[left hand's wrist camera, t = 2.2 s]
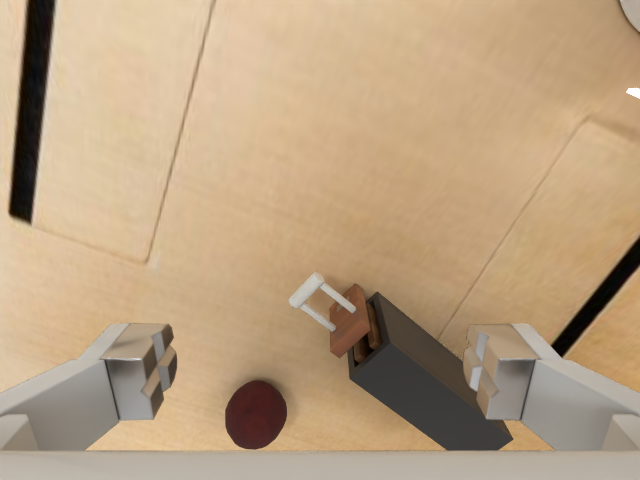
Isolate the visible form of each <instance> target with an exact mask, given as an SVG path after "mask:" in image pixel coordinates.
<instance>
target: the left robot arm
mask: <svg viewBox="0 0 640 480" xmlns="http://www.w3.org/2000/svg"><path fill="white" fill-rule="evenodd" d="M620 3H621V6H622V8H623V11H624V13H625V15H626V16H627V18H628V20H629V21H630V22H631V24H632V25H633V26H634V27H635V28H636V29H637V30H638V31H639V32H640V0H620ZM627 93H629V94H632V95H634V96H636V97H638V98H640V89H637V88H633V89H628V91H627ZM173 338H174V336H173V331H172V327H171V326H170V325H169V324H146V323H114V324H110V325H109V326H108V327H107V328H106V329H105V330H104V331H103V332H102V334H101V335H100V336H99V337H98V338H97V339H96V340H95V341H94V342H93V343H92V344H91V345H90V346H89V347H88V348H87V349H86V351H85V352H84V353H83V354H82V355H81V356H80V357H79V358H78V359H77V360H69V361H67V362H65V363H63V364H61V365H58V366H56V367H54V368H52V369H50V370H48V371H46V372H44V373H41V374H39V375H37V376H35V377H33V378H31V379H29V380H27V381H25V382H22V383H20V384H18V385H16V386H14V387H12V388H10V389H8V390H5V391H3V392H1V393H0V480H640V393H639V392H636V391H634V390H632V389H630V388H628V387H626V386H624V385H622V384H620V383H617V382H615V381H613V380H611V379H609V378H607V377H605V376H603V375H601V374H598V373H596V372H594V371H592V370H590V369H588V368H586V367H584V366H582V365H579V364H577V363H575V362H573V361H571V360H563V359H562V358H561V357H560V356H559V355H558V354H557V353H556V352H555V351H554V349H553V348H552V347H551V346H550V345H549V344H548V343H547V342H546V341H545V340H544V339H543V338H542V337H541V336H540V335H539V334H538V332H537V331H536V330H535V329H534V328H533V327H532V326H531V325H529V324H527V323H508V324H474V325H470V326H469V328H468V330H467V336H466V338H467V340H468V342H469V343H470V346H469V347H468V348H467V349H466V350H465V351H464V356H463V370H464V375H465V378H466V381H467V383H468V385H469V387H470V388H472V389H473V390H475V391H476V392H477V396H476V401H477V402H478V404H479V406H480V408H481V410H482V412H483V414H484V416H485V418H486V419H487V420H521V423H523V424H524V425H525V426H526V427H527V428H529V429H530V430H531V431H532V432H534V433H535V434H536V435H537V436H539V437H540V438H541V439H542V440H543V441H545V442H546V443H547V444H548V445H550V446H551V447H552V448H553V449H555V450H556V451H84V450H86V449H87V448H88V447H89V446H90V445H92V444H93V443H94V442H95V441H97V440H98V439H99V438H100V437H102V436H103V435H104V434H105V433H107V432H108V431H109V430H110V429H111V428H113V427H114V426H115V425H116V424H118V423H119V420H154V418H155V416H156V414H157V412H158V410H159V408H160V406H161V404H162V402H163V401H164V396H163V392H164V391H165V390H167V389H168V388H170V387H171V385H172V383H173V381H174V379H175V375H176V370H177V355H176V351H175V350H174V349H173V348H172V347H171V346H170V343H171V342H172V340H173Z"/></svg>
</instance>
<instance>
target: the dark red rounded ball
mask: <svg viewBox="0 0 640 480" xmlns="http://www.w3.org/2000/svg"><path fill="white" fill-rule="evenodd" d="M286 417H287V407H286V402H285V400H284V399H283V397H282V395H281V394H280V393H279V391H278V390H277V389H275V388H274V387H273V386H272V385H271V384H268V383H266V382H263V381H252V382H248V383H246V384H245V385H243V386H242V387H241V388H239V389H238V390H237V391H236V392H235V393H234V395H233V396H232V398H231V399H230V401H229V403H228V405H227V408H226V410H225V424H226V429H227V433H228V434H229V435H230V437H231V438H232V440H233V441H234V443H235V444H236V445H238V446H239V447H242V448H245V449H259V448H263V447H265V446H267V445H269V444H270V443H271V442H272V441H273V440H275V439H276V437H277V436H278V434H279V433H280V431H281V430H282V428H283V426H284V424H285V421H286Z"/></svg>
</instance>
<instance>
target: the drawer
mask: <svg viewBox="0 0 640 480" xmlns="http://www.w3.org/2000/svg"><path fill="white" fill-rule="evenodd" d="M319 287H320V289H322V290H323V291H324V292H326V293H327V294H328V295H329V296H331V297H332V298H333V299H334V300H336V301H337V302H336V303H335V304H334V305H333V306H332V307H331V308H330V321H329V320H328V319H326V318H325V317H324V316H322V315H321V314H320V313H318V312H317V311H316V310H315V309H313V308H312V307H311V306H309V305H308V304H307V303H305V301H306V300H307V299H308V298H309V297H310V296H311V295H312V294H313V293H314V292H315V291H316V290H317V289H318V288H319ZM288 302H289V303H290V305H291V306H292V307H294V308H296V309H298V308H299V307H300V308H301V309H302V310H304V311H305V312H306V313H308V314H309V315H310V316H311V317H313V318H314V319H315V320H317V321H318V322H319V323H321V324H322V325H323V326H325V327H326V328H327V329H329V330H330V351H331V352H332V353H333V354H334V355H336V356H337V357H338V358H340V357H341V356H342V355H343V354H345V353H346V352H347V351H348V350H349V349H350V348H351V347H352V346H354V356H355V360H356V361H357V362H359V363H361V362H362V361H363V360H364V359H365V358H367V357H368V356H369V355H370V354H371V353H372V352H373V351H374V350H376V349H377V348H378V347H379V346H380V345H381V344H382V343H383V340H382V335H381V331H380V327H379V322H378V318H377V314H376V309H375V308H374V307H373V306H371V305H370V304H369V303H368V302H367V303H365V298H364V293H363V289H362V288H360V287H359V286H358V285H357V284H354V285H353V286H352V287H351V288H350V289H349V290H348V291H347V292H346V293H345V294H344V295H343V296H341V295H340V294H339V293H338V292H336V291H335V290H334V289H332V288H331V287H330V286H329V285H327V284H326V283H325V282H324V278H323V277H322V276H321V275H320V274H319V273H317V272H314V273H313V274H312V275H311V276H310V277H309V278H308V279H307V280H306V281H305V282H304V283H303V284H302V285H301V286H300V287H299V288H298V289H297V290H296V291H295V292H294V293H293V295H292V296H291V297H290V298H289V299H288Z"/></svg>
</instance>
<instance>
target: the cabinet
mask: <svg viewBox="0 0 640 480" xmlns="http://www.w3.org/2000/svg"><path fill="white" fill-rule="evenodd" d="M367 302H368V303H369V304H370V305H371V306H373V307H374V308H375V309H376V314H377V318H378V322H379V327H380V331H381V335H382V340H383V343H382V344H381V345H380V346H379V347H378V348H377V349H376V350H374V351H373V352H372V353H371V354H370V355H369V356H368V357H367V358H365V359H364V360H363V361H362V362H361V363H359V362H357V361H356V360H355V356H354V346H352V347H351V348H350V349H349V350H348V351H347V352H348V364H349V378H350V379H351V380H352V381H353V382H355V383H356V384H357V385H359V386H360V387H362V388H363V389H364V390H366V391H367V392H368V393H370V394H371V395H372V396H374V397H375V398H377V399H378V400H379V401H381V402H382V403H383V404H385V405H386V406H388V407H389V408H390V409H392V410H393V411H394V412H396V413H397V414H398V415H400V416H401V417H403V418H404V419H405V420H407V421H408V422H409V423H411V424H412V425H413V426H415V427H416V428H418V429H419V430H420V431H422V432H423V433H424V434H426V435H427V436H429V437H430V438H431V439H433V440H434V441H435V442H437V443H438V444H439V445H441V446H442V447H444V448H445V449H446V450H448V451H497V450H499V449H500V448H502V447H503V446H505V445H506V444H508V443H509V442H510V441H512V440H513V438H512V436H511V434H510V432H509V430H508V428H507V427H506V425H505V423H504V421H503V420H487V419H486V418H485V416H484V414H483V412H482V410H481V408H480V406H479V404H478V402H477V401H476V396H477V392H476V391H475V390H473V389H472V388H470V387H469V385H468V383H467V381H466V378H465V375H464V370H463V362H462V361H461V360H460V359H459V358H458V357H456V356H455V355H454V354H453V353H451V352H450V351H449V350H448V349H447V348H445V347H444V346H443V345H442V344H441V343H439V342H438V341H437V340H436V339H434V338H433V337H432V336H431V335H430V334H428V333H427V332H426V331H425V330H423V329H422V328H421V327H420V326H419V325H417V324H416V323H415V322H414V321H412V320H411V319H410V318H409V317H408V316H406V315H405V314H404V313H403V312H401V311H400V310H399V309H398V308H397V307H395V306H394V305H393V304H392V303H391V302H389V301H388V300H387V299H386V298H384V297H383V296H382V295H381V294H380V293H378V292H376V293H375V294H374V295H373V296H372V297H371V298H370V299H369V300H368V301H367ZM367 302H366V303H367Z"/></svg>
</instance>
